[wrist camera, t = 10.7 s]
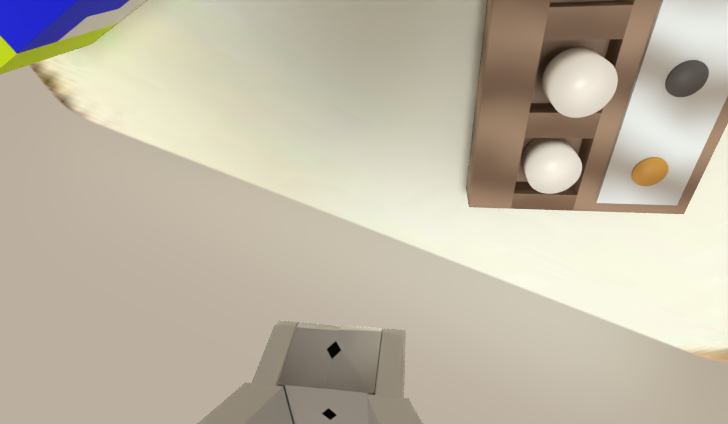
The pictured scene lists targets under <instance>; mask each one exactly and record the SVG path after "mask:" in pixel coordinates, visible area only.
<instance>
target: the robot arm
mask: <svg viewBox="0 0 728 424" xmlns="http://www.w3.org/2000/svg"><path fill="white" fill-rule="evenodd" d="M404 374H405V330H396V329H383V328H373V327H357V326H333V325H323V324H313V323H303V322H292V321H291V322H290V321H280V320H279V321H278V322H277V323H276V325H275V326H274V328H273V330H272V333H271V335H270V338H269V340H268V343H267V346H266V348H265V351H264V353H263V356H262V358H261V361H260V363H259V366H258V368H257V371H256V374H255V376H254V378H253V381H252V383H244V384H243V385H242V386H241V387H240V388H239V389H238V390H236V391H235V392H234V393H233V394H231V395H230V396H229V397H228V398H227V399H226V400H224V401H223V402H222V403H221V404H220V405H219V406H217V407H216V408H215V409H214V410H213V411H211V412H210V414H208V415H207V416H206V417H205V418H203V419H202V420H201V421H200V422H199V423H197V424H423V423H422V421H421V419H420V418H419V416H418V414H417V412H416V411H415V409H414V407H413V405H412V404H411V402H410V400H409V398H404Z"/></svg>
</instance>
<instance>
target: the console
mask: <svg viewBox="0 0 728 424" xmlns="http://www.w3.org/2000/svg"><path fill="white" fill-rule="evenodd" d="M574 47H585V48H589V49H592V50H594V51H595V52H596V53H598V54H599V55H601V56H602V57H603V58H605V59H606V60H608V61H609V62H610V63H611V64H612V65H613V66H614V68H615V69H616V72H617V76H618V83H617V88H616V91H615V93H614V95H613V97H612V98H611V100H610V101H609V102H608V103H607V104H606V105H605V106H604V107H603V108H602V109H600V110H599V111H597V112H596V113H594V114H591V115H589V116H585V117H580V118H572V117H567V116H564V115H562V114H561V113H559V112H558V111H557V110H556V109H555V108H554V106H553V105H552V104H551V102H550V101H549V99H548V98H547V97H546V95H545V93H544V91H543V88H542V77H543V73H544V71H545V69H546V67H547V65H548V64H549V62H550V61H551V60H552V59H553V58H554V57H555V56H557V55H558V54H559V53H561V52H563V51H565V50H567V49H570V48H574ZM727 123H728V0H488V1H487V10H486V19H485V27H484V36H483V45H482V54H481V63H480V72H479V81H478V90H477V99H476V108H475V117H474V125H473V134H472V143H471V152H470V161H469V170H468V179H467V188H466V190H467V197H468V204H469V207H483V208H514V209H544V210H574V211H605V212H635V213H666V214H684V213H685V210H686V208H687V206H688V204H689V202H690V200H691V198H692V196H693V194H694V192H695V190H696V188H697V186H698V183H699V181H700V179H701V177H702V175H703V173H704V171H705V169H706V167H707V165H708V163H709V161H710V159H711V157H712V154H713V152H714V150H715V148H716V146H717V144H718V142H719V140H720V138H721V136H722V134H723V132H724V130H725V128H726V125H727ZM536 138H565V139H566V140H567V141H568V142H569V143H570V144H571V146H572V147H573V149H574V150H575V152H576V153H577V155H578V156H579V158H580V160H581V163H582V171H581V175H580V177H579V179H578V180H577V181H576V182H575V183H574V184H573V185H572V186H571V187H570V188H568V189H566V190H564V191H562V192H559V193H553V194H546V193H541V192H538V191H536V190H535V189H533V188H532V187H531V186H530V184H529V183H528V180H527V178H526V175H525V173H524V170H523V168H522V165H521V156H522V153H523V151H524V149H525V147H526V146H527V145H528V144H529V143H530V142H531V141H533V140H534V139H536Z"/></svg>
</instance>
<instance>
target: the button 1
mask: <svg viewBox="0 0 728 424" xmlns="http://www.w3.org/2000/svg"><path fill="white" fill-rule="evenodd" d="M521 165H522V168H523V170H524V173H525V175H526V178H527V180H528V183H529V184H530V186H531V187H532V188H533V189H535V190H536V191H538V192H541V193H546V194H553V193H559V192H562V191H564V190H566V189H568V188H570V187H571V186H572V185H573V184H574V183H575V182H576V181H577V180H578V179H579V177H580V175H581V171H582V163H581V160H580V158H579V156H578V155H577V153H576V152H575V150H574V149H573V147H572V146H571V144H570V143H569V142H568V141H567V140H566V139H565V138H536V139H534V140H533V141H531V142H530V143H529V144H528V145H527V146H526V147H525V149H524V151H523V153H522V156H521Z"/></svg>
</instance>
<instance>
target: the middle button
mask: <svg viewBox="0 0 728 424" xmlns="http://www.w3.org/2000/svg"><path fill="white" fill-rule="evenodd" d="M617 83H618V76H617V72H616V69H615V68H614V66H613V65H612V64H611V63H610V62H609V61H608V60H606V59H605V58H603V57H602V56H601V55H599V54H598V53H596V52H595V51H594V50H592V49H589V48H585V47H574V48H570V49H567V50H565V51H563V52H561V53H559V54H558V55H557V56H555V57H554V58H553V59H552V60H551V61H550V62H549V64H548V65H547V67H546V69H545V71H544V73H543V77H542V88H543V91H544V93H545V95H546V97H547V98H548V99H549V101H550V102H551V104H552V105H553V106H554V108H555V109H556V110H557V111H558V112H559V113H561V114H562V115H564V116H567V117H572V118H580V117H585V116H589V115H591V114H594V113H596V112H597V111H599V110H600V109H602V108H603V107H604V106H605V105H606V104H607V103H608V102H609V101H610V100H611V98H612V97H613V95H614V93H615V91H616V88H617Z"/></svg>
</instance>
